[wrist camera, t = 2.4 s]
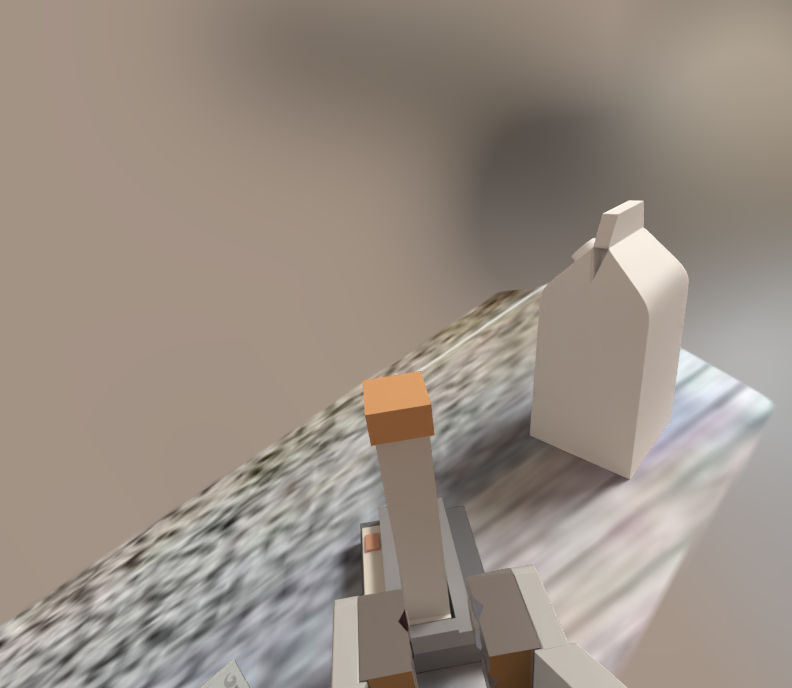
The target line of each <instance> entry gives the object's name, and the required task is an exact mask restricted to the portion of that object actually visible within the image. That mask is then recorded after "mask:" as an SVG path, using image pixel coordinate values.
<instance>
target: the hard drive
mask: <svg viewBox="0 0 792 688" xmlns="http://www.w3.org/2000/svg"><path fill="white" fill-rule="evenodd" d="M200 688H250V686H249V684H248V683H247V681H246V679H245V677H244V675H243V674H242V672H241V670H240V668H239V666H238V664H237V662H236V661H235V660H234V659H233V660H232V661H231V662H230V663H228V664H227V665H226V666H225V667H224V668H222V669H221V670H220V671H219V672H218V673H217V674H215V675H214V676H213V677H212V678H211V679H210V680H208V681H207V682H206V683H205V684H204V685H203V686H201V687H200Z"/></svg>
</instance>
